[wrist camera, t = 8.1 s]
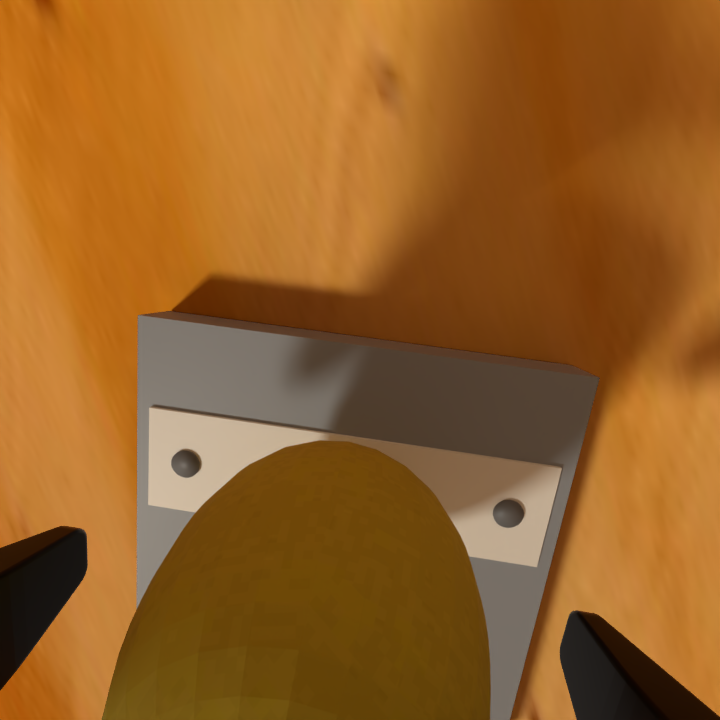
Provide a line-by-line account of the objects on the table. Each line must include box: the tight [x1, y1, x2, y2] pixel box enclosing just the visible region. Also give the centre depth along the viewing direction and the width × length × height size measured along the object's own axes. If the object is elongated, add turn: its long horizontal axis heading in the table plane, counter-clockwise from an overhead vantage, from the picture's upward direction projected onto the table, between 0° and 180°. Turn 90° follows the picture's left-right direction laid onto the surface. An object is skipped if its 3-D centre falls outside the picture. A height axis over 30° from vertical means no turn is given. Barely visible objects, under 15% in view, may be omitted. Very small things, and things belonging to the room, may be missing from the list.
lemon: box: [102, 440, 491, 720], centre depth 7 cm, size 6×6×8 cm
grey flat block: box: [137, 311, 600, 720], centre depth 12 cm, size 14×12×2 cm
